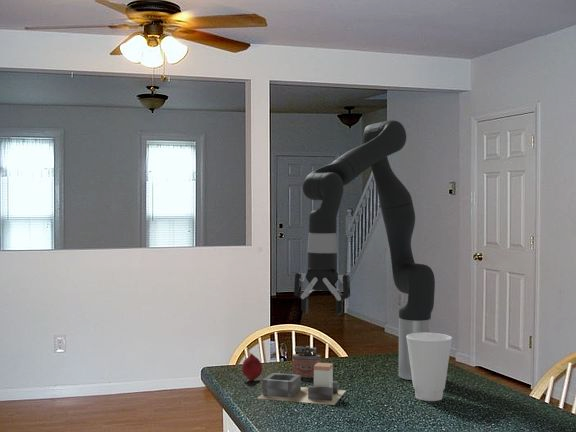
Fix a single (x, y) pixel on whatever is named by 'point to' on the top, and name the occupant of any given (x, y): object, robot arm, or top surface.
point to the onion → (252, 367)
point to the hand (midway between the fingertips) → (321, 314)
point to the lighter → (305, 361)
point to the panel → (298, 390)
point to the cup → (429, 363)
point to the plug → (323, 375)
